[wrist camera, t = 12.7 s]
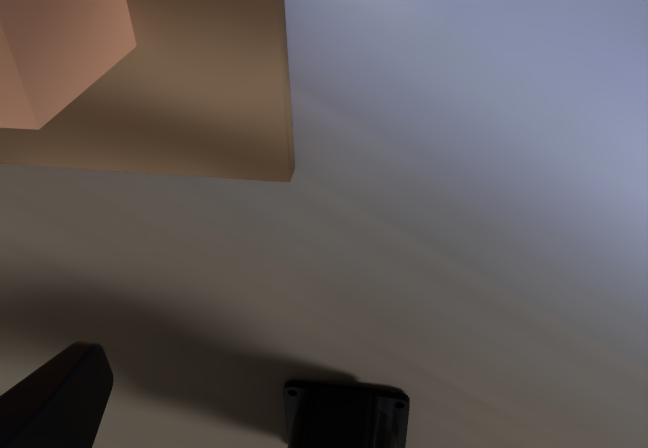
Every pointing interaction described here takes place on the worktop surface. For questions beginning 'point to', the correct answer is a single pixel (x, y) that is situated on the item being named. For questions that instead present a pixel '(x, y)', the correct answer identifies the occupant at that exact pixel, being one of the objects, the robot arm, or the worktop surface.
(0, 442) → the robot arm
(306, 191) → the worktop surface
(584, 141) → the worktop surface
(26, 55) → the terracotta cube
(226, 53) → the walnut board
